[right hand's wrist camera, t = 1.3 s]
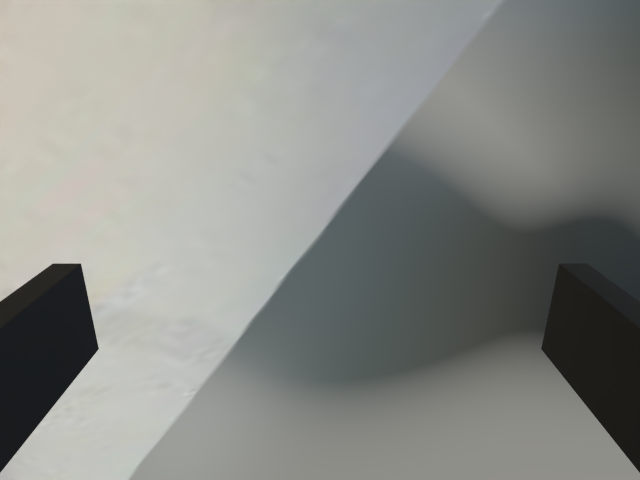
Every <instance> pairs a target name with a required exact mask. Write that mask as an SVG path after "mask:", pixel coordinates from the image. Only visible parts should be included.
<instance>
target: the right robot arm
mask: <svg viewBox="0 0 640 480" xmlns="http://www.w3.org/2000/svg"><path fill="white" fill-rule="evenodd" d="M98 349H99V348H98V344H97V339H96V334H95V329H94V324H93V320H92V315H91V310H90V305H89V300H88V296H87V291H86V286H85V281H84V276H83V272H82V267H81V264H52V265H51V266H49V267H48V268H46V269H45V270H44V271H42V272H41V273H39V274H38V275H37V276H35V277H34V278H33V279H31V280H30V281H28V282H27V283H26V284H24V285H23V286H21V287H20V288H19V289H17V290H16V291H15V292H13V293H12V294H10V295H9V296H8V297H6V298H5V299H3V300H2V301H1V302H0V472H1V471H2V470H3V468H4V467H5V466H6V465H7V463H8V462H9V461H10V460H11V458H12V457H13V456H14V455H15V453H16V452H17V451H18V450H19V448H20V447H21V446H22V445H23V443H24V442H25V441H26V440H27V438H28V437H29V436H30V435H31V433H32V432H33V431H34V429H35V428H36V427H37V426H38V424H39V423H40V422H41V421H42V419H43V418H44V417H45V416H46V414H47V413H48V412H49V411H50V409H51V408H52V407H53V406H54V404H55V403H56V402H57V401H58V399H59V398H60V397H61V396H62V394H63V393H64V392H65V391H66V389H67V388H68V387H69V385H70V384H71V383H72V382H73V380H74V379H75V378H76V377H77V375H78V374H79V373H80V372H81V370H82V369H83V368H84V367H85V365H86V364H87V363H88V362H89V360H90V359H91V358H92V357H93V355H94V354H95V353H96V352H97V350H98ZM542 350H543V352H544V353H545V354H546V355H547V357H548V358H549V359H550V360H551V362H552V363H553V364H554V365H555V367H556V368H557V369H558V370H559V372H560V373H561V374H562V375H563V377H564V378H565V379H566V380H567V382H568V383H569V384H570V385H571V387H572V388H573V389H574V391H575V392H576V393H577V394H578V396H579V397H580V398H581V399H582V401H583V402H584V403H585V404H586V406H587V407H588V408H589V409H590V411H591V412H592V413H593V414H594V416H595V417H596V418H597V419H598V421H599V422H600V423H601V424H602V426H603V427H604V428H605V429H606V431H607V432H608V433H609V434H610V436H611V437H612V438H613V440H614V441H615V442H616V443H617V445H618V446H619V447H620V448H621V450H622V451H623V452H624V453H625V455H626V456H627V457H628V458H629V460H630V461H631V462H632V463H633V465H634V466H635V467H636V468H637V470H638V471H639V472H640V302H639V301H638V300H636V299H635V298H634V297H632V296H631V295H630V294H628V293H627V292H625V291H624V290H623V289H621V288H620V287H618V286H617V285H616V284H614V283H613V282H612V281H610V280H609V279H607V278H606V277H605V276H603V275H602V274H601V273H599V272H598V271H596V270H595V269H594V268H592V267H591V266H589V265H588V264H559V267H558V272H557V276H556V281H555V286H554V291H553V296H552V301H551V305H550V310H549V315H548V320H547V324H546V329H545V334H544V339H543V344H542Z"/></svg>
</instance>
